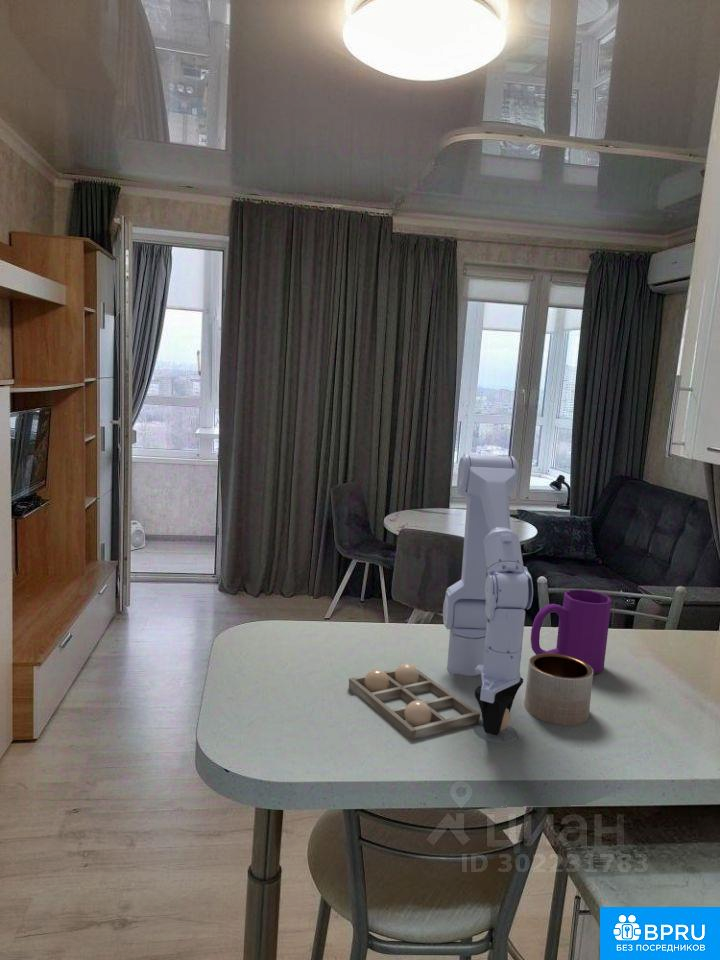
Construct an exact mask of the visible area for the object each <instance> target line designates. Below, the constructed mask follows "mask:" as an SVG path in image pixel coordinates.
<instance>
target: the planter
mask: <svg viewBox="0 0 720 960" xmlns="http://www.w3.org/2000/svg"><path fill="white" fill-rule="evenodd" d="M593 679H594V674H593V669H592V667H591V666H590V665H588V664H587V663H586V662H584V661H582V660H580V659H577V658H574V657H571V656H567V655H563V654H555V653H543V654H538V655H536V654H535V655H533V656H531V657H530V658H529V660H528V668H527V677H526V685H525V694H524V700H523V701H524V702H523V706H524V709H525V710H526V711H527V712H528V713H529V715H532V717H535V718H537V719H539V720H540V721H544V722H547V723H550V724H554V725H561V726H575V725H576V726H577V725H581V724H583V723H586V722H587V720H588V719H589V717H590V710H591V709H590V708H591V697H592V690H593V689H592V687H593Z"/></svg>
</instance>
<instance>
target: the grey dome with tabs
mask: <svg viewBox="0 0 720 960" xmlns="http://www.w3.org/2000/svg"><path fill="white" fill-rule="evenodd" d="M473 733H474V734H475V735H476V736H477V737H478V738H480V739H482V740H484V741H487V742H490V743H493V744H509V743H512V742H514V741H516V740H517V739H518V735H519V734H518V731H517V730H516V729H515V728H514V727H513V726H512V725H510V724H509V726H508V727H507V728H506V729H505V730H503V731H500V732H499V733H498V735H497V736H496V735H492V734H489V733H486V732H485V731H484V726H483V719H480V722H479V723H475V724H474V725H473Z"/></svg>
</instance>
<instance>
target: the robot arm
mask: <svg viewBox="0 0 720 960" xmlns="http://www.w3.org/2000/svg"><path fill="white" fill-rule="evenodd" d="M518 479H519V465H518V461H517V460H516V458H515V457H514V456H513V455H509V456H498V455H496V456H495V455H478V454H477V455H476V454H468V453H464V454H462V456H461V457H460V458H459V462H458V469H457V483H456V490H457V495H459V496H461V497H463V498H465V504H466V509H465V525H464V537H463V552H462V563H461V564H462V565H461V579H460V580H458V581H456V582H455V583H453V584H452V585H450V586H449V587H448V588H446V591H445V595H444V600H443V607H442V620H443V621H442V622H443V625H444V627H445V628H446V629H447V630H449V637H448V649H447V650H448V651H447V652H448V653H447V663H446V670H447V671H448V672H449V673H450V674H452V675H461V676H467V677H468V676H469V677H471V676H473V677H474V676H479V675H480V677H481V684H482V685H478V686H477V687H476V688H475V689H474V698H475V699H476V701H477V703H478V706H479V708H480V714H481V718H482V719H481V720H483V726H484V731H485V732H486V733H489V734H492V735H496V736H497V735H498V733H499V731H500V728H501V725H502V720H503V716H504V713H505V710H506V708H507V709H508V710H509V712H510V713H511V709H512V706H513V704H514V700H515V697H516V695H517V692H518V691H519V689H520V688H521V686H522V685H523V683H524V678H523V677H521V672H520V671H521V661H522V650H523V649H522V648H523V641H524V640H523V639H524V638H523V637H524V632H525V631H524V630H525V628H524V627H525V618H526V610H529V609H530V608H531V607H532V603H533V598H534V586H533V578H532V575H531V573H530V572H529V570H528V567H527V566H524V561H523V556H522V555H523V554H522V549H521V543H520V537H519V535H518V534H517V533H516V532H514V531H513V530H511V529H512V528H511V513H510V511H511V510H510V497H511V496H512V495H513V493H514V490H515V488H516V486H517V483H518ZM525 609H526V610H525Z"/></svg>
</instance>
